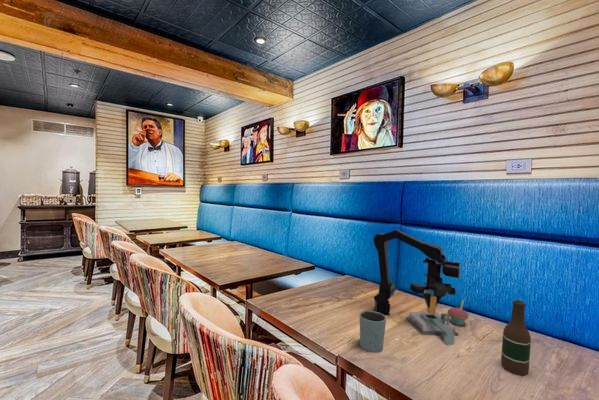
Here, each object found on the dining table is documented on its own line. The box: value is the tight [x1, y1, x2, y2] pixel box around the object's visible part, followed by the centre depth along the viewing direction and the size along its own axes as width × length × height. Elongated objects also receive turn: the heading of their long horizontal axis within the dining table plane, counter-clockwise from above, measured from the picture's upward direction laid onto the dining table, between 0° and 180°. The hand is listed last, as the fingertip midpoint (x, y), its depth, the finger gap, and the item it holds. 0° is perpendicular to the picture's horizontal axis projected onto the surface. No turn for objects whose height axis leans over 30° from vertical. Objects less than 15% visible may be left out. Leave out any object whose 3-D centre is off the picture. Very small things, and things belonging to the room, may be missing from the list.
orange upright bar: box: [426, 294, 437, 314], centre depth 130 cm, size 3×3×8 cm
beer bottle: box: [500, 299, 532, 377], centre depth 100 cm, size 8×8×24 cm
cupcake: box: [447, 299, 469, 327], centre depth 135 cm, size 9×8×12 cm
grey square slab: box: [405, 311, 459, 345], centre depth 127 cm, size 16×24×6 cm
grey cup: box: [358, 310, 387, 354], centre depth 111 cm, size 10×10×12 cm
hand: (431, 307), depth 130 cm, fingers closed on orange upright bar, 3 cm apart
